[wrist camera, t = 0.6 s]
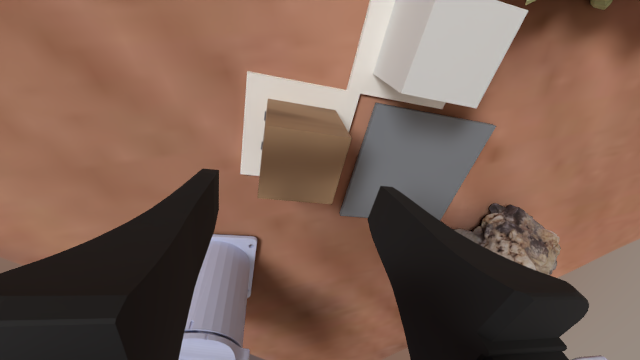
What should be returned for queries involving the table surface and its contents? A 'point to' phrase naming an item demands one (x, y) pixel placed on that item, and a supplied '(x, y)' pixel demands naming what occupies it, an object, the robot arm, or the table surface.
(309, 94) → the code tile
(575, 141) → the table surface
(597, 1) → the figurine
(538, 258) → the rock
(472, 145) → the slate mat
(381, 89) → the code tile
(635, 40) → the table surface
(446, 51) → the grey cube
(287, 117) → the walnut cube
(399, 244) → the robot arm
